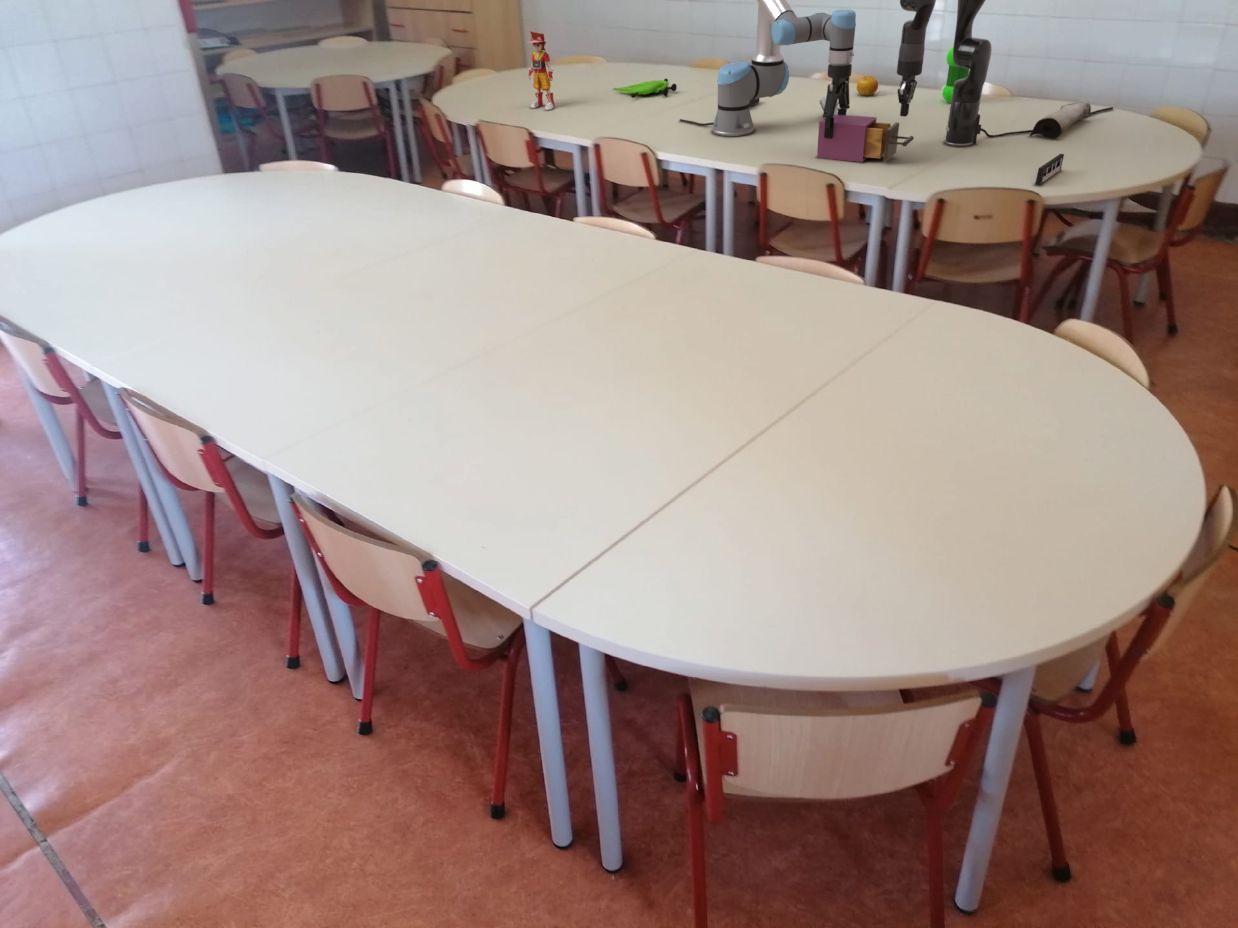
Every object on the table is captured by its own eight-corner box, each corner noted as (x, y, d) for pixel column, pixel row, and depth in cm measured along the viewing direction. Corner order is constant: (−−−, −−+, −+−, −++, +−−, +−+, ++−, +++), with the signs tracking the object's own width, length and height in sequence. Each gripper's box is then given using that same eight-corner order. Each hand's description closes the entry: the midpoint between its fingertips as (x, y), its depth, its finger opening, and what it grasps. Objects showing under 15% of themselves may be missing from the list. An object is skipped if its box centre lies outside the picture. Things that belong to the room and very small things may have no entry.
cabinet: (873, 153, 304) (876, 117, 298) (862, 162, 297) (865, 125, 290) (828, 149, 312) (831, 114, 305) (816, 157, 304) (819, 122, 298)
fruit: (851, 87, 368) (863, 69, 365) (853, 91, 376) (865, 73, 373) (868, 99, 367) (880, 81, 364) (870, 102, 374) (882, 84, 371)
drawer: (912, 154, 297) (916, 124, 292) (903, 162, 290) (907, 131, 285) (853, 149, 307) (856, 119, 301) (843, 157, 300) (845, 126, 294)
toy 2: (686, 85, 398) (631, 84, 414) (685, 72, 395) (629, 72, 411) (651, 104, 381) (596, 103, 397) (650, 92, 378) (594, 91, 394)
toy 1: (525, 109, 381) (517, 32, 364) (534, 104, 388) (527, 28, 371) (550, 110, 377) (543, 32, 360) (559, 105, 384) (553, 28, 367)
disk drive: (744, 111, 360) (759, 102, 370) (744, 104, 358) (760, 95, 368) (721, 109, 365) (737, 100, 375) (721, 102, 363) (737, 93, 373)
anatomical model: (814, 91, 345) (840, 84, 344) (817, 118, 351) (843, 112, 350) (825, 101, 333) (851, 93, 332) (828, 129, 339) (854, 122, 338)
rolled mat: (1058, 107, 328) (1083, 90, 320) (1071, 128, 329) (1097, 111, 320) (1025, 130, 311) (1051, 112, 303) (1040, 152, 311) (1065, 134, 303)
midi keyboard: (1039, 185, 269) (1043, 168, 266) (1035, 184, 270) (1038, 168, 267) (1060, 170, 279) (1064, 154, 277) (1056, 169, 280) (1060, 153, 277)
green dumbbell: (973, 101, 354) (984, 32, 339) (955, 106, 349) (966, 36, 335) (952, 97, 361) (962, 29, 346) (934, 102, 356) (944, 33, 342)
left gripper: (838, 71, 280) (832, 143, 293) (863, 57, 296) (857, 125, 309) (815, 70, 284) (811, 141, 296) (841, 56, 300) (836, 124, 312)
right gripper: (916, 63, 272) (909, 122, 282) (929, 54, 281) (921, 111, 291) (892, 61, 275) (885, 120, 285) (905, 53, 284) (898, 110, 294)
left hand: (834, 133), depth 302 cm, fingers closed on cabinet, 11 cm apart
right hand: (904, 115), depth 288 cm, fingers closed
